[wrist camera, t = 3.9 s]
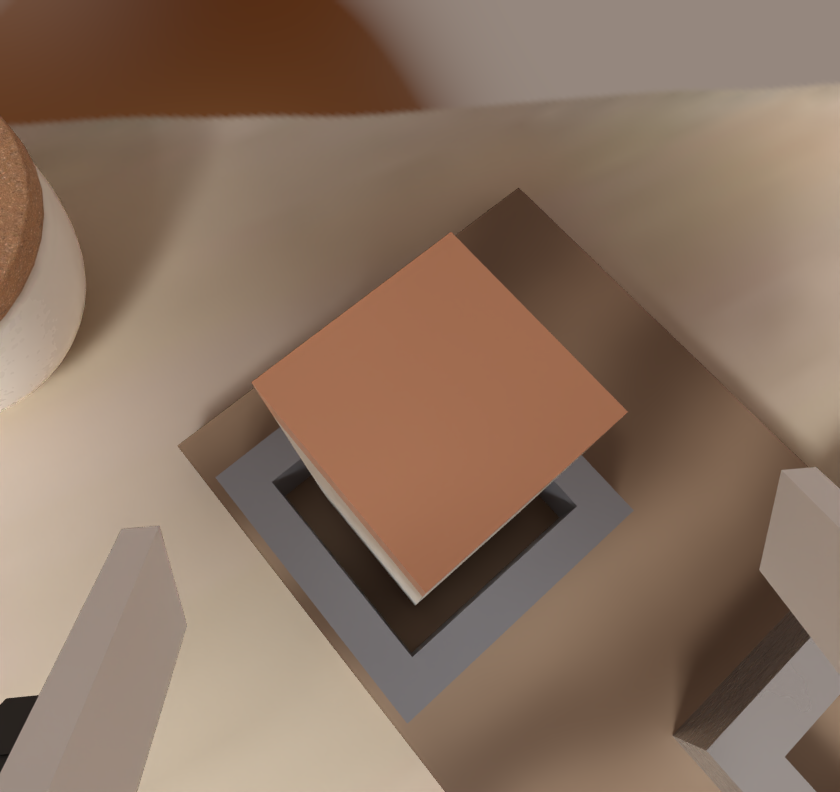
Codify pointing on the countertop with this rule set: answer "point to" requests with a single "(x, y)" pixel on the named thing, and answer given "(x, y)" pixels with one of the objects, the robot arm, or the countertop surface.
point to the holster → (465, 630)
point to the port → (762, 713)
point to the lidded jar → (34, 275)
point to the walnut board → (597, 572)
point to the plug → (435, 413)
